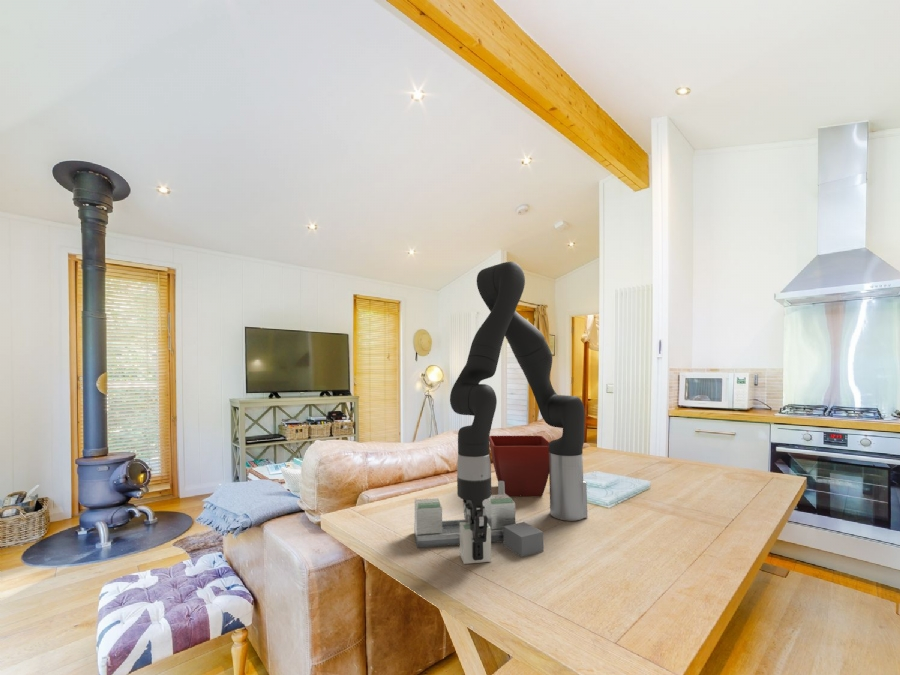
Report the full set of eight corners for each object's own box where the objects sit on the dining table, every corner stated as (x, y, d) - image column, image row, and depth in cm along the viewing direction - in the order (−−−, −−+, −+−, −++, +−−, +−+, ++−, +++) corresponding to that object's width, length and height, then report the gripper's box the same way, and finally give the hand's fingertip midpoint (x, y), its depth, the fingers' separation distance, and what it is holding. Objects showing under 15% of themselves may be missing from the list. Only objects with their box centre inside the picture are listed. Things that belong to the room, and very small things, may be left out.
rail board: (506, 526, 110) (505, 490, 111) (517, 540, 101) (516, 501, 102) (414, 532, 106) (414, 496, 107) (417, 548, 98) (417, 507, 98)
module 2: (524, 541, 101) (523, 521, 102) (543, 552, 95) (543, 531, 96) (503, 546, 99) (503, 526, 99) (522, 558, 92) (521, 537, 93)
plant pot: (555, 500, 131) (554, 445, 132) (494, 500, 131) (493, 445, 132) (543, 483, 150) (541, 435, 151) (489, 483, 150) (488, 435, 151)
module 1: (486, 552, 95) (485, 518, 95) (491, 561, 90) (490, 526, 91) (459, 554, 94) (459, 520, 94) (463, 563, 89) (463, 528, 90)
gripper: (499, 482, 87) (500, 568, 86) (482, 466, 101) (484, 539, 100) (463, 484, 86) (464, 571, 85) (452, 467, 100) (452, 542, 99)
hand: (475, 553), depth 92 cm, fingers closed on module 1, 4 cm apart
